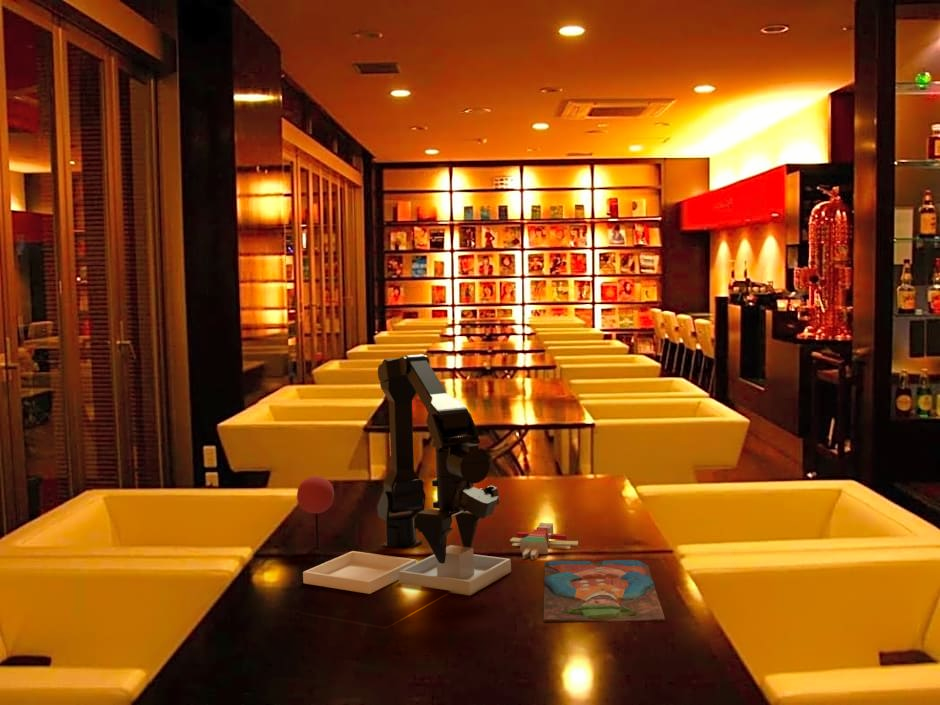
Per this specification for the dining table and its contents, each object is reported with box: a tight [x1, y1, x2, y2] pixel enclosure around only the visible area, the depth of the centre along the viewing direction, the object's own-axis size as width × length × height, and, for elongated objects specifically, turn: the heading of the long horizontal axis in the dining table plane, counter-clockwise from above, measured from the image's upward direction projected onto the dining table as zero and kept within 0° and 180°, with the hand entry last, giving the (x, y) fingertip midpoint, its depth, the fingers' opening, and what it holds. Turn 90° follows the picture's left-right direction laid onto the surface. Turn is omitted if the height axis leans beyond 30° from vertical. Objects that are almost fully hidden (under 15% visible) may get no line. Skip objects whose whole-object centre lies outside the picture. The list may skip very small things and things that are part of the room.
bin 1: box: [302, 550, 417, 595], centre depth 192 cm, size 15×15×2 cm
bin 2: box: [398, 553, 512, 596], centre depth 190 cm, size 15×15×2 cm
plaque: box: [543, 559, 666, 623], centre depth 179 cm, size 20×2×30 cm
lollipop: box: [296, 476, 335, 548], centre depth 215 cm, size 8×8×15 cm
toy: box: [509, 522, 579, 561], centre depth 208 cm, size 15×4×15 cm
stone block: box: [437, 544, 474, 580], centre depth 190 cm, size 5×5×5 cm
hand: (455, 556), depth 190 cm, fingers open, 9 cm apart
